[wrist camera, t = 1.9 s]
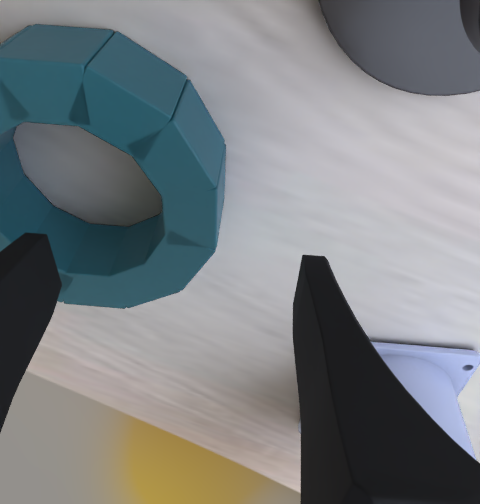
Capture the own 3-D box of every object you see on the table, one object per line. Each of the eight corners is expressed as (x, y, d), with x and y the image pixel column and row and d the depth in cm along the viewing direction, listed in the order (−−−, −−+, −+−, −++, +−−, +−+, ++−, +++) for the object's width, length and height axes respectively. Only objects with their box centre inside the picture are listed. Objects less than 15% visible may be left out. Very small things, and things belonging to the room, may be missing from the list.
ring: (222, 265, 20) (214, 316, 18) (8, 247, 21) (-25, 296, 18) (229, 37, 14) (220, 75, 12) (-81, 14, 14) (-148, 46, 12)
